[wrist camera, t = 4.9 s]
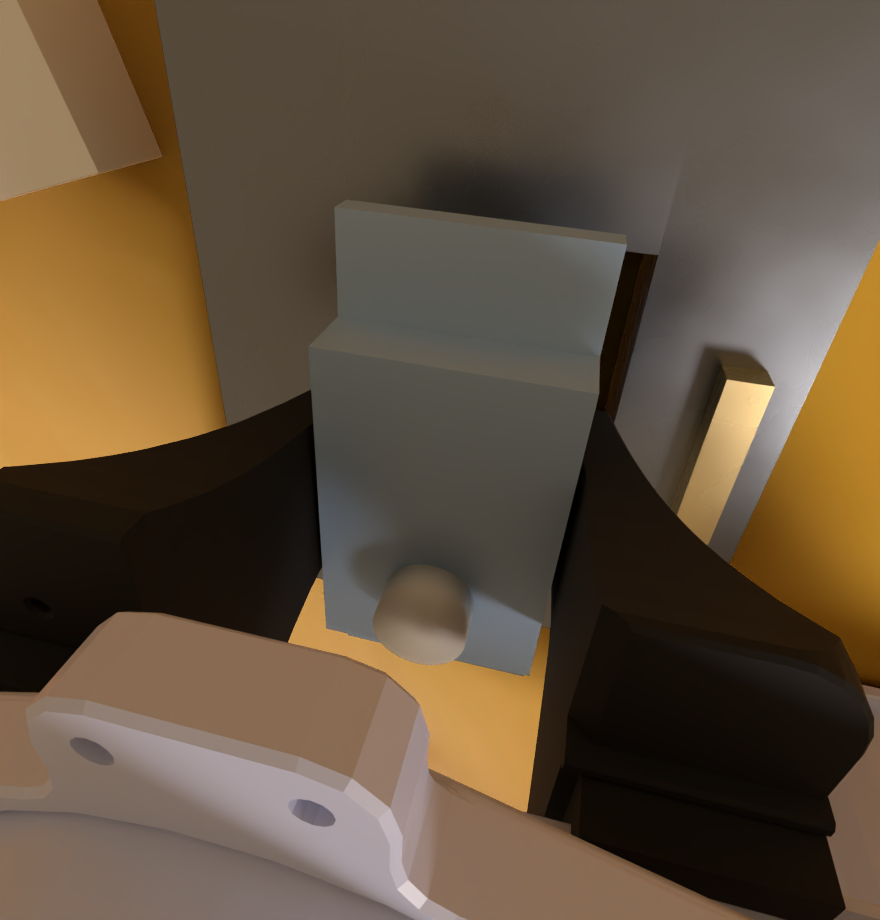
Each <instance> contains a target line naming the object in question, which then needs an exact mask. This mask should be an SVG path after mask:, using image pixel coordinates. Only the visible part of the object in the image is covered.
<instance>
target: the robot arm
mask: <svg viewBox="0 0 880 920" xmlns="http://www.w3.org/2000/svg"><path fill="white" fill-rule="evenodd" d="M321 568H322V552H321V537H320V521H319V505H318V489H317V474H316V458H315V442H314V426H313V411H312V395H311V390H309V391H307V392H305V393H303V394H301V395H298V396H296V397H294V398H292V399H290V400H288V401H286V402H284V403H282V404H280V405H277V406H275V407H273V408H270V409H268V410H266V411H263V412H261V413H259V414H257V415H254V416H252V417H250V418H247V419H245V420H242V421H240V422H237V423H235V424H232V425H229V426H226V427H224V428H221V429H218V430H214V431H211V432H208V433H205V434H202V435H199V436H196V437H192V438H189V439H184V440H180V441H176V442H172V443H168V444H164V445H160V446H156V447H152V448H148V449H143V450H139V451H133V452H128V453H122V454H117V455H111V456H105V457H98V458H91V459H84V460H77V461H68V462H57V463H47V464H36V465H25V466H12V467H3V468H1V469H0V920H880V689H879V688H875V687H870V686H865V685H862V684H861V681H860V679H859V676H858V674H857V671H856V669H855V667H854V665H853V663H852V661H851V659H850V657H849V655H848V653H847V651H846V649H845V647H844V645H843V643H842V641H841V639H840V637H838V636H836V635H835V634H833V633H831V632H830V631H828V630H826V629H825V628H823V627H821V626H820V625H818V624H816V623H815V622H813V621H811V620H810V619H808V618H806V617H805V616H803V615H801V614H800V613H798V612H797V611H795V610H793V609H792V608H790V607H788V606H787V605H785V604H783V603H782V602H780V601H779V600H777V599H776V598H774V597H773V596H772V595H770V594H769V593H767V592H766V591H764V590H763V589H762V588H760V587H759V586H757V585H756V584H755V583H753V582H752V581H750V580H749V579H748V578H746V577H745V576H744V575H742V574H741V573H740V572H738V571H737V570H736V569H735V568H733V567H732V566H731V565H729V564H728V563H727V562H726V561H725V560H724V559H722V558H721V557H720V556H719V555H718V554H717V553H715V552H714V551H713V550H712V549H711V548H710V547H708V546H707V545H706V544H705V543H704V542H703V541H702V540H701V539H700V538H698V537H697V536H696V535H695V534H694V533H693V532H692V531H691V530H690V529H689V528H688V527H687V526H686V525H685V524H684V523H683V521H682V520H681V519H680V518H679V517H678V516H677V515H676V514H675V513H674V512H673V511H672V510H671V509H670V508H669V506H668V505H667V504H666V503H665V502H664V501H663V499H662V498H661V497H660V496H659V494H658V493H657V492H656V490H655V489H654V488H653V487H652V485H651V484H650V482H649V481H648V480H647V478H646V477H645V475H644V474H643V472H642V471H641V469H640V468H639V466H638V464H637V463H636V461H635V460H634V458H633V457H632V455H631V453H630V452H629V450H628V448H627V447H626V445H625V443H624V441H623V440H622V438H621V436H620V434H619V432H618V430H617V428H616V426H615V424H614V422H613V420H612V418H611V417H610V415H609V414H608V412H603V411H597V410H595V413H594V417H593V421H592V425H591V429H590V433H589V437H588V441H587V445H586V449H585V453H584V457H583V461H582V465H581V469H580V473H579V477H578V481H577V485H576V489H575V493H574V497H573V501H572V505H571V509H570V513H569V517H568V521H567V525H566V529H565V533H564V537H563V541H562V545H561V549H560V553H559V557H558V561H557V565H556V570H555V574H554V578H553V582H552V586H551V625H550V641H549V649H548V657H547V665H546V674H545V682H544V690H543V697H542V705H541V713H540V721H539V729H538V736H537V744H536V751H535V758H534V766H533V773H532V781H531V788H530V795H529V802H528V810H527V813H526V812H522V811H519V810H517V809H515V808H513V807H511V806H509V805H506V804H504V803H502V802H500V801H498V800H496V799H494V798H491V797H489V796H487V795H485V794H483V793H481V792H479V791H476V790H474V789H472V788H470V787H468V786H466V785H463V784H461V783H459V782H457V781H455V780H453V779H451V778H448V777H446V776H444V775H442V774H440V773H438V772H435V771H433V770H431V769H429V768H428V763H427V757H428V746H429V731H428V728H427V725H426V722H425V719H424V716H423V713H422V710H421V707H420V705H419V704H418V702H417V701H416V700H415V698H414V697H413V696H411V695H410V694H409V693H408V692H407V691H406V690H405V689H403V688H402V687H401V686H400V685H399V684H398V683H397V682H396V681H394V680H393V679H392V678H391V677H390V676H389V675H388V674H386V673H385V672H383V671H380V670H378V669H375V668H373V667H370V666H368V665H365V664H363V663H361V662H358V661H356V660H353V659H351V658H348V657H346V656H342V655H338V654H334V653H329V652H325V651H321V650H317V649H312V648H308V647H304V646H300V645H295V644H291V643H288V640H289V638H290V635H291V633H292V631H293V628H294V626H295V623H296V621H297V619H298V617H299V614H300V612H301V610H302V607H303V605H304V603H305V601H306V598H307V596H308V594H309V592H310V589H311V587H312V585H313V583H314V581H315V580H316V578H317V576H318V574H319V572H320V570H321Z"/></svg>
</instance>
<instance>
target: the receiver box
mask: <svg viewBox="0 0 880 920" xmlns="http://www.w3.org/2000/svg"><path fill="white" fill-rule="evenodd" d="M161 157H163V156H162V153H161V151H160V148H159V146H158V144H157V141H156V139H155V137H154V134H153V132H152V129H151V127H150V125H149V122H148V120H147V118H146V115H145V113H144V110H143V108H142V106H141V103H140V101H139V98H138V96H137V94H136V91H135V89H134V87H133V84H132V82H131V79H130V77H129V75H128V72H127V70H126V68H125V65H124V63H123V60H122V58H121V56H120V53H119V51H118V49H117V46H116V44H115V41H114V39H113V37H112V34H111V32H110V30H109V27H108V25H107V22H106V20H105V18H104V15H103V13H102V11H101V8H100V6H99V3H98V1H97V0H0V201H3V200H7V199H11V198H14V197H18V196H22V195H25V194H29V193H33V192H36V191H40V190H44V189H47V188H51V187H55V186H58V185H62V184H66V183H69V182H73V181H77V180H80V179H84V178H88V177H91V176H95V175H99V174H102V173H106V172H110V171H114V170H117V169H121V168H125V167H128V166H132V165H136V164H139V163H143V162H147V161H150V160H154V159H158V158H161Z"/></svg>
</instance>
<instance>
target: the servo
mask: <svg viewBox="0 0 880 920" xmlns="http://www.w3.org/2000/svg"><path fill="white" fill-rule="evenodd" d="M334 211H335V242H336V273H337V304H338V317H337V318H336V319H335V320H334V321H333V322H332V323H331V324H330V325H329V326H328V327H327V328H326V329H325V330H324V331H323V332H322V333H321V334H320V335H319V336H318V337H317V338H316V339H315V340H314V341H313V342H312V343H311V344H310V345H309V346H308V348H309V363H310V379H311V395H312V411H313V426H314V442H315V458H316V474H317V489H318V505H319V521H320V537H321V552H322V568H323V584H324V600H325V615H326V628H327V629H331V630H336V631H340V632H344V633H348V635H350V636H354V637H358V638H362V639H367V640H371V641H375V642H380V643H382V644H383V645H384V646H385V647H386V648H387V649H388V650H389V651H391V652H392V653H394V654H395V655H397V656H399V657H401V658H403V659H405V660H408V661H411V662H414V663H418V664H425V665H439V664H445V663H448V662H450V661H453V660H456V661H461V662H465V663H469V664H474V665H478V666H482V667H486V668H491V669H495V670H499V671H503V672H508V673H512V674H516V675H520V676H524V675H528V676H529V674H530V670H531V666H532V662H533V658H534V654H535V650H536V646H537V642H538V638H539V634H540V630H541V626H542V622H543V618H544V614H545V610H546V606H547V602H548V598H549V594H550V590H551V586H552V582H553V578H554V574H555V570H556V565H557V561H558V557H559V553H560V549H561V545H562V541H563V537H564V533H565V529H566V525H567V521H568V517H569V513H570V509H571V505H572V501H573V497H574V493H575V489H576V485H577V481H578V477H579V473H580V469H581V465H582V461H583V457H584V453H585V449H586V445H587V441H588V437H589V433H590V429H591V425H592V421H593V417H594V413H595V409H596V405H597V401H598V397H599V377H600V355H601V351H602V347H603V343H604V338H605V334H606V330H607V326H608V322H609V318H610V313H611V309H612V305H613V301H614V297H615V293H616V288H617V284H618V280H619V276H620V272H621V268H622V263H623V259H624V255H625V251H626V247H627V240H626V235H624V234H616V233H608V232H600V231H592V230H584V229H576V228H568V227H560V226H552V225H544V224H536V223H529V222H521V221H513V220H505V219H497V218H489V217H481V216H473V215H465V214H457V213H449V212H441V211H434V210H426V209H418V208H410V207H402V206H394V205H386V204H378V203H370V202H362V201H354V200H345V201H344V202H342V203H340V204H339V205H337V206H335V207H334Z"/></svg>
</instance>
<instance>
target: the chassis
mask: <svg viewBox="0 0 880 920" xmlns="http://www.w3.org/2000/svg"><path fill="white" fill-rule="evenodd" d="M154 1H155V7H156V13H157V19H158V25H159V31H160V37H161V42H162V48H163V54H164V60H165V66H166V72H167V77H168V83H169V89H170V95H171V101H172V107H173V113H174V118H175V124H176V130H177V136H178V142H179V148H180V154H181V159H182V165H183V171H184V177H185V183H186V189H187V194H188V200H189V206H190V212H191V218H192V224H193V230H194V235H195V241H196V247H197V253H198V259H199V265H200V271H201V276H202V282H203V288H204V294H205V300H206V306H207V312H208V317H209V323H210V329H211V335H212V341H213V347H214V352H215V358H216V364H217V370H218V376H219V382H220V388H221V393H222V399H223V405H224V411H225V417H226V423H227V426H229V425H232V424H235V423H237V422H240V421H242V420H245V419H247V418H250V417H252V416H254V415H257V414H259V413H261V412H263V411H266V410H268V409H270V408H273V407H275V406H277V405H280V404H282V403H284V402H286V401H288V400H290V399H292V398H294V397H296V396H298V395H301V394H303V393H305V392H307V391H309V390H311V379H310V363H309V348H308V346H309V345H310V344H311V343H312V342H313V341H314V340H315V339H316V338H317V337H318V336H319V335H320V334H321V333H322V332H323V331H324V330H325V329H326V328H327V327H328V326H329V325H330V324H331V323H332V322H333V321H334V320H335V319H336V318H337V317H338V304H337V273H336V242H335V211H334V207H335V206H337V205H339V204H340V203H342V202H344V201H345V200H354V201H362V202H370V203H378V204H386V205H394V206H402V207H410V208H418V209H426V210H434V211H441V212H449V213H457V214H465V215H473V216H481V217H489V218H497V219H505V220H513V221H521V222H529V223H536V224H544V225H552V226H560V227H568V228H576V229H584V230H592V231H600V232H608V233H616V234H624V235H626V240H627V247H626V251H628V252H636V253H643V255H642V259H641V263H640V267H639V271H638V275H637V279H636V283H635V288H634V292H633V296H632V300H631V304H630V308H629V312H628V316H627V320H626V324H625V328H624V332H623V336H622V340H621V344H620V348H619V352H618V356H617V360H616V364H615V368H614V372H613V376H612V381H611V385H610V389H609V393H608V397H607V401H606V405H605V409H604V412H608V414H609V415H610V417H611V418H612V420H613V422H614V424H615V426H616V428H617V430H618V432H619V434H620V436H621V438H622V440H623V441H624V443H625V445H626V447H627V448H628V450H629V452H630V453H631V455H632V457H633V458H634V460H635V461H636V463H637V464H638V466H639V468H640V469H641V471H642V472H643V474H644V475H645V477H646V478H647V480H648V481H649V482H650V484H651V485H652V487H653V488H654V489H655V490H656V492H657V493H658V494H659V496H660V497H661V498H662V499H663V501H664V502H665V503H666V504H667V505H668V506H669V508H670V509H671V510H672V511H673V512H674V513H675V514H676V515H677V516H678V517H679V518H680V519H681V520H682V521H683V523H684V524H685V525H686V526H687V527H688V528H689V529H690V530H691V531H692V532H693V533H694V534H695V535H696V536H697V537H698V538H700V539H701V540H702V541H703V542H704V543H705V544H706V545H707V546H708V547H710V548H711V549H712V550H713V551H714V552H715V553H717V554H718V555H719V556H720V557H721V558H722V559H724V560H725V561H726V562H727V563H728V564H729V563H730V561H731V559H732V557H733V554H734V552H735V550H736V548H737V546H738V544H739V541H740V539H741V537H742V535H743V533H744V531H745V528H746V526H747V524H748V522H749V520H750V518H751V516H752V513H753V511H754V509H755V507H756V505H757V503H758V500H759V498H760V496H761V494H762V492H763V490H764V487H765V485H766V483H767V481H768V479H769V477H770V475H771V472H772V470H773V468H774V466H775V464H776V462H777V459H778V457H779V455H780V453H781V451H782V449H783V446H784V444H785V442H786V440H787V438H788V436H789V434H790V431H791V429H792V427H793V425H794V423H795V421H796V418H797V416H798V414H799V412H800V410H801V408H802V405H803V403H804V401H805V399H806V397H807V395H808V393H809V390H810V388H811V386H812V384H813V382H814V380H815V377H816V375H817V373H818V371H819V369H820V367H821V364H822V362H823V360H824V358H825V356H826V354H827V351H828V349H829V347H830V345H831V343H832V341H833V339H834V336H835V334H836V332H837V330H838V328H839V326H840V323H841V321H842V319H843V317H844V315H845V313H846V310H847V308H848V306H849V304H850V302H851V300H852V298H853V295H854V293H855V291H856V289H857V287H858V285H859V282H860V280H861V278H862V276H863V274H864V272H865V269H866V267H867V265H868V263H869V261H870V259H871V257H872V254H873V252H874V250H875V248H876V246H877V244H878V241H879V239H880V0H154ZM317 578H320V579H323V568H321V570H320V572H319V574H318V576H317ZM550 625H551V590H550V594H549V598H548V602H547V606H546V610H545V614H544V618H543V622H542V626H541V627H546V628H550Z"/></svg>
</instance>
